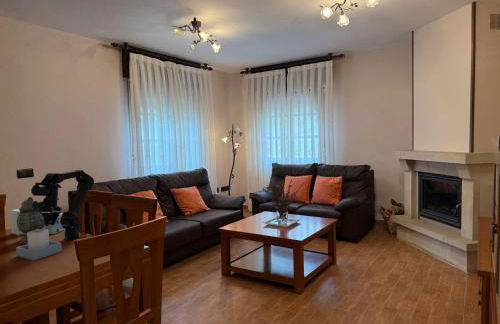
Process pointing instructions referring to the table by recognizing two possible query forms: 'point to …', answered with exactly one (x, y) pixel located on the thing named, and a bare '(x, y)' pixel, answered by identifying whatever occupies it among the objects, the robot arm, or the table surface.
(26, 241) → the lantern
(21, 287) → the table surface
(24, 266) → the table surface
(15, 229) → the supplement box
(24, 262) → the table surface
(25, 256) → the tray
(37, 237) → the white upright carton
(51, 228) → the light bulb box
